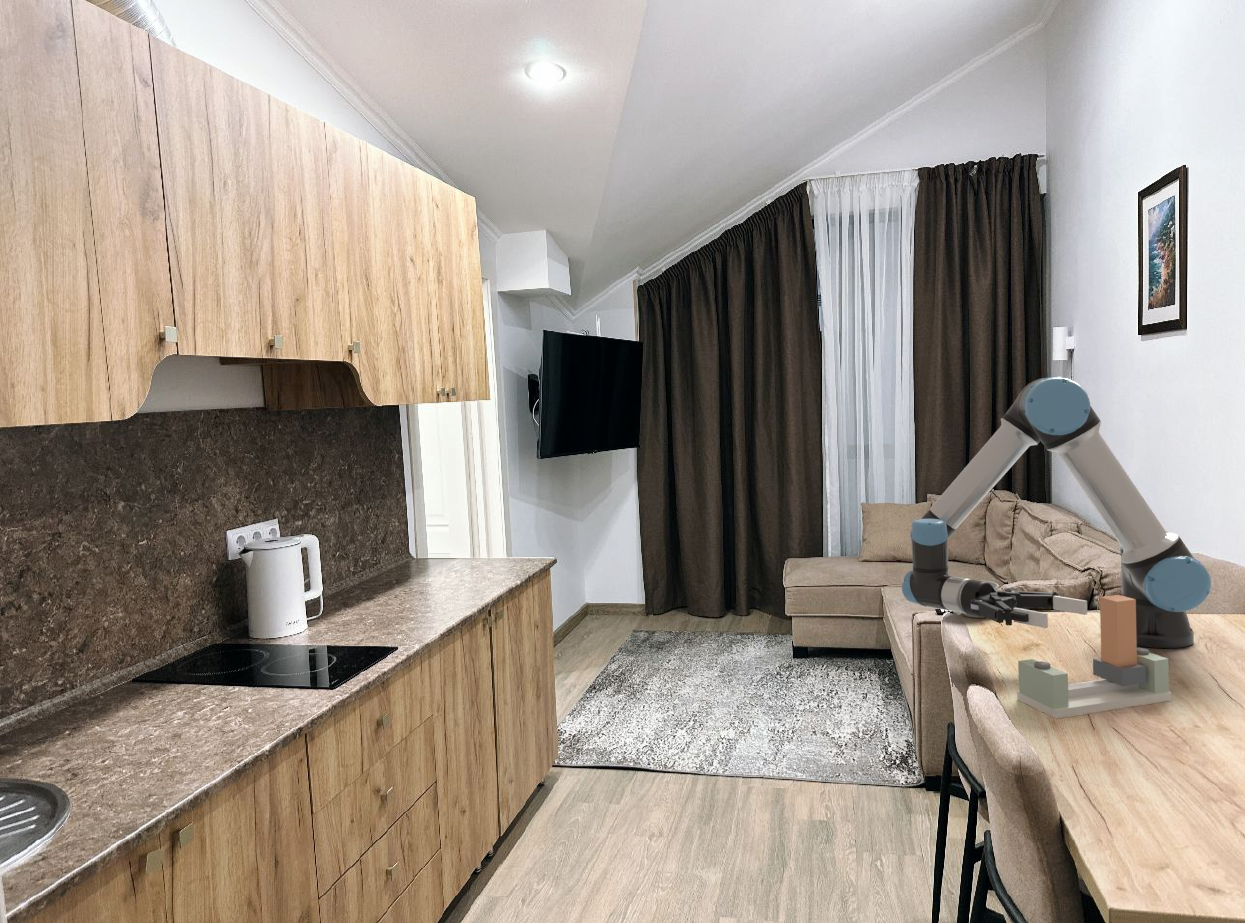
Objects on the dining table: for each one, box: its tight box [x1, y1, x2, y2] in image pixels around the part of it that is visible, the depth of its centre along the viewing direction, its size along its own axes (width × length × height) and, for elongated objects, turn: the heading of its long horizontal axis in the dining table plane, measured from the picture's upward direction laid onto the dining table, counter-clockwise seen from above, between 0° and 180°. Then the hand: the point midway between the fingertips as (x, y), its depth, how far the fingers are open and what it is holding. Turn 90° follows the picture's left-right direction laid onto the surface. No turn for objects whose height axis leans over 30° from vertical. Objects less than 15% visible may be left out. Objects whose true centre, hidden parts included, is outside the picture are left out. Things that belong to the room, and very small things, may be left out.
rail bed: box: [1016, 678, 1172, 720], centre depth 155 cm, size 24×10×3 cm, turn 103°
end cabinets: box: [1017, 647, 1170, 709], centre depth 155 cm, size 24×9×7 cm, turn 102°
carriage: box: [1092, 594, 1146, 686], centre depth 156 cm, size 5×7×15 cm
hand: (1067, 614), depth 164 cm, fingers open, 13 cm apart
